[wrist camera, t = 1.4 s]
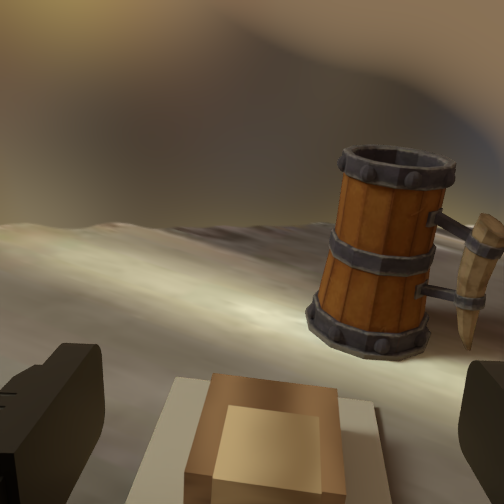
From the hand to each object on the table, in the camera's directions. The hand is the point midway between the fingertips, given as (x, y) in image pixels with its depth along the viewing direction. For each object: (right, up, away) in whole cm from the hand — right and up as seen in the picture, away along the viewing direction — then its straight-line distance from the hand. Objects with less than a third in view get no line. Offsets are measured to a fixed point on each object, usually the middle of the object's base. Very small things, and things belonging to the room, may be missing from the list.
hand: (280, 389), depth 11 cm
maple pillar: (-1, -17, +16) cm, 23 cm away
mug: (+15, -7, +45) cm, 48 cm away
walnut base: (0, -13, +25) cm, 28 cm away
